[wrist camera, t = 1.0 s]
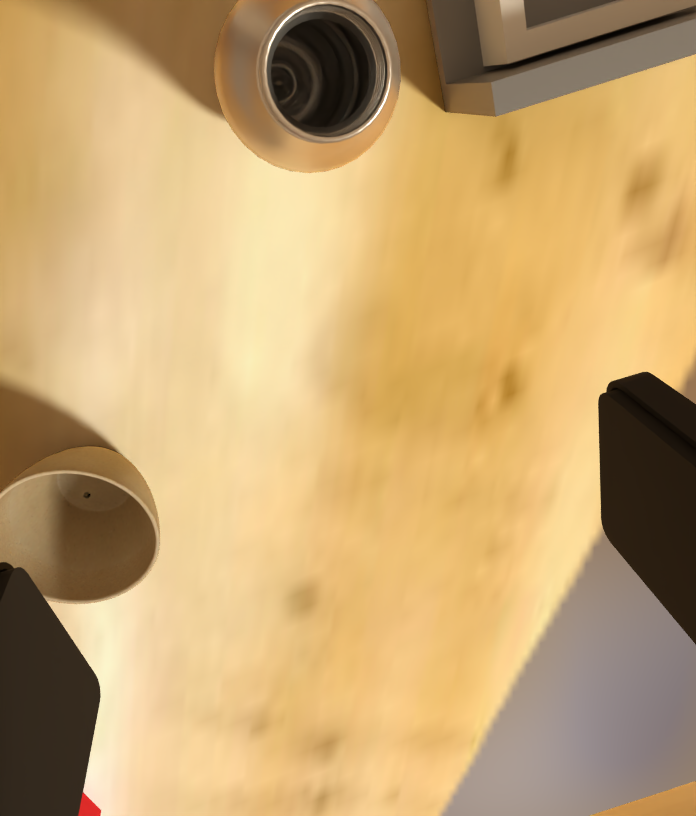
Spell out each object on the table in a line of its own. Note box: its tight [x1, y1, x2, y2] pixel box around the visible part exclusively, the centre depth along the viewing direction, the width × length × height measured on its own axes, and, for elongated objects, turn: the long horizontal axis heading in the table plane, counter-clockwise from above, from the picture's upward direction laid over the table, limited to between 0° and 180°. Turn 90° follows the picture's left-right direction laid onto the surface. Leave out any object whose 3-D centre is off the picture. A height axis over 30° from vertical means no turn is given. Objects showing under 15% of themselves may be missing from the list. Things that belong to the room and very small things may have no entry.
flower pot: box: [0, 446, 160, 604], centre depth 41 cm, size 10×10×7 cm
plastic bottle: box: [214, 0, 401, 173], centre depth 26 cm, size 6×7×20 cm
